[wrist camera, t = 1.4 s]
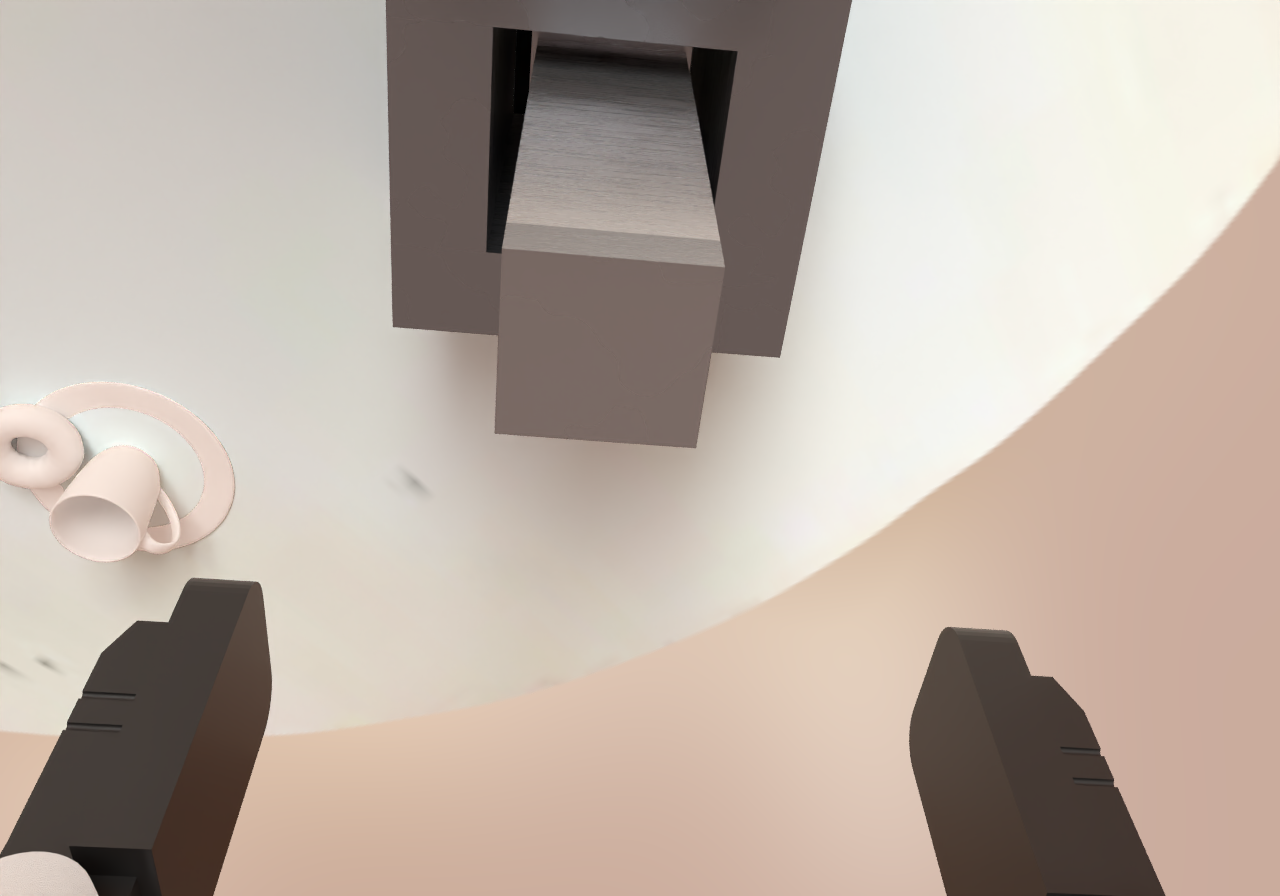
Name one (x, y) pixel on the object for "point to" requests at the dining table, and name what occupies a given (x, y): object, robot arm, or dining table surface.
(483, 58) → the housing
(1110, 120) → the dining table surface
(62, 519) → the teacup and saucer
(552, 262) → the column
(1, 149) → the dining table surface
